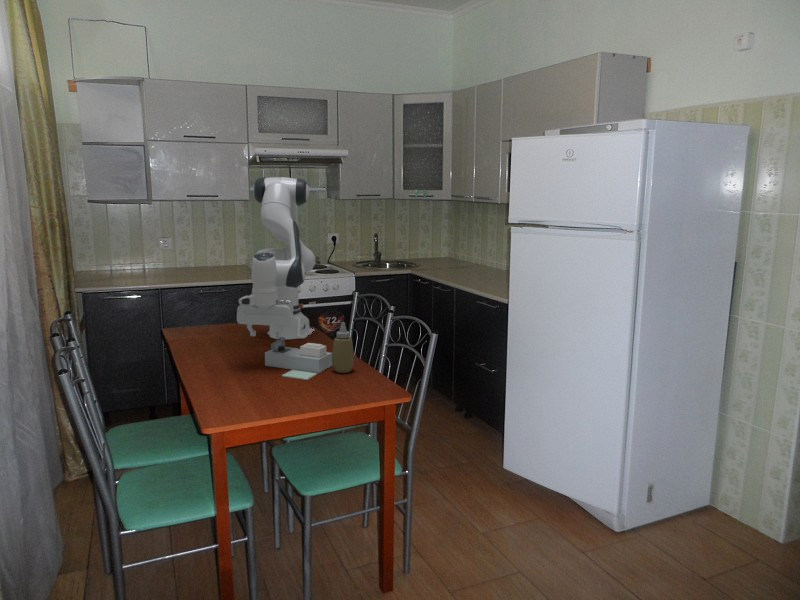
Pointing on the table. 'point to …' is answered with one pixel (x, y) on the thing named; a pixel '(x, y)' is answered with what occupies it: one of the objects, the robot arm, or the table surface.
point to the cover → (313, 349)
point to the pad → (299, 374)
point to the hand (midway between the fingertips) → (265, 336)
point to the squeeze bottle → (343, 351)
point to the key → (279, 344)
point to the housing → (297, 360)
